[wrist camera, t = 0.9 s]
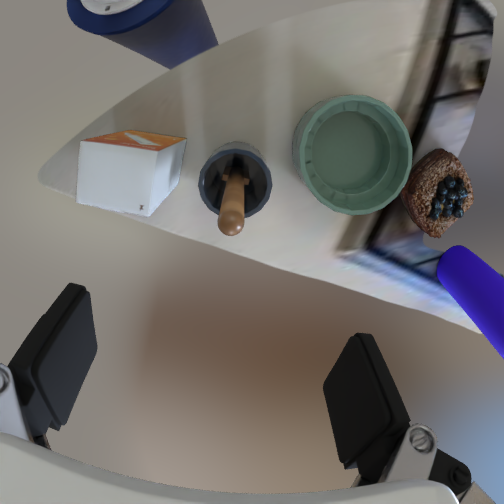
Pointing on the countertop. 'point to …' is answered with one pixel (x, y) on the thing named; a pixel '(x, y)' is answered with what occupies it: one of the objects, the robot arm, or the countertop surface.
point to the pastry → (437, 192)
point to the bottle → (475, 291)
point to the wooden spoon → (233, 201)
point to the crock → (231, 157)
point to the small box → (128, 171)
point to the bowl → (352, 153)
